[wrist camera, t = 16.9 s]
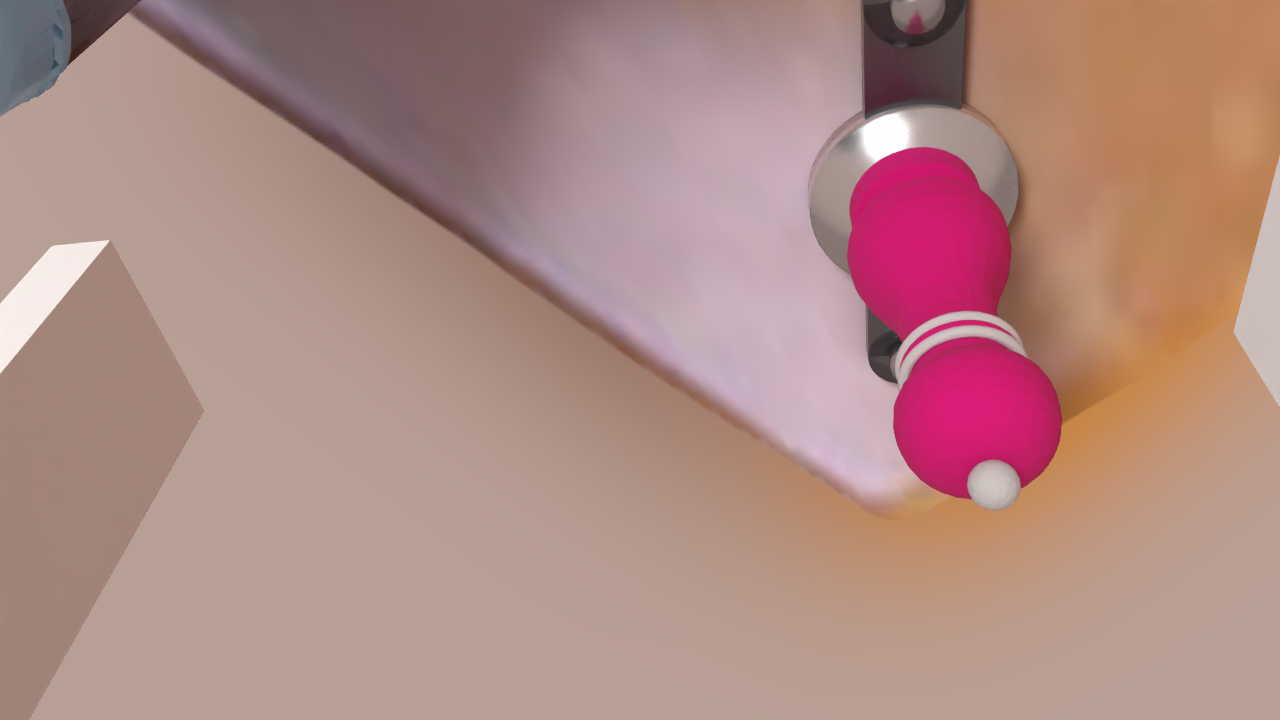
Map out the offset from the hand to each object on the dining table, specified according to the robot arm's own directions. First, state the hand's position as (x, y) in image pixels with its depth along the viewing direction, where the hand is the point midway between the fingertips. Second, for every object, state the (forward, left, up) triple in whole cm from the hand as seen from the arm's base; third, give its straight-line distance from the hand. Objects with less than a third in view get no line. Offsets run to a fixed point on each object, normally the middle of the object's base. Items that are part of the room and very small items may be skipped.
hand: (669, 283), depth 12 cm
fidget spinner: (+8, -21, -37) cm, 43 cm away
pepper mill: (+8, -21, -35) cm, 42 cm away
